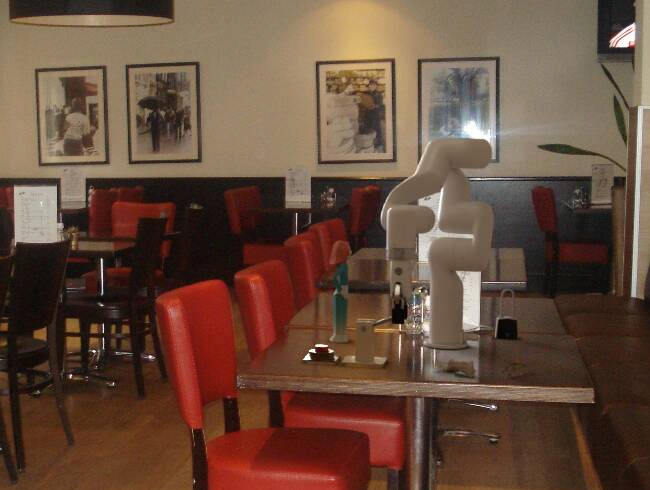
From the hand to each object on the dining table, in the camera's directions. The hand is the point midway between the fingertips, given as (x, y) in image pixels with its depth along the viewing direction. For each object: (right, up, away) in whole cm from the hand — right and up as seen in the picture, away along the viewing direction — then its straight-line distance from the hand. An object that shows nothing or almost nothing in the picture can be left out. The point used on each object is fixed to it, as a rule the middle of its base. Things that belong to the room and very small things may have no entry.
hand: (399, 321), depth 274 cm
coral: (+12, -13, -10) cm, 21 cm away
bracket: (-9, -12, +4) cm, 15 cm away
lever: (-4, -1, +1) cm, 5 cm away
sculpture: (-11, -8, +39) cm, 41 cm away
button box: (-20, -11, +7) cm, 24 cm away
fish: (+27, -13, -12) cm, 33 cm away
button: (-20, -9, +7) cm, 23 cm away
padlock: (+40, -8, +42) cm, 59 cm away
